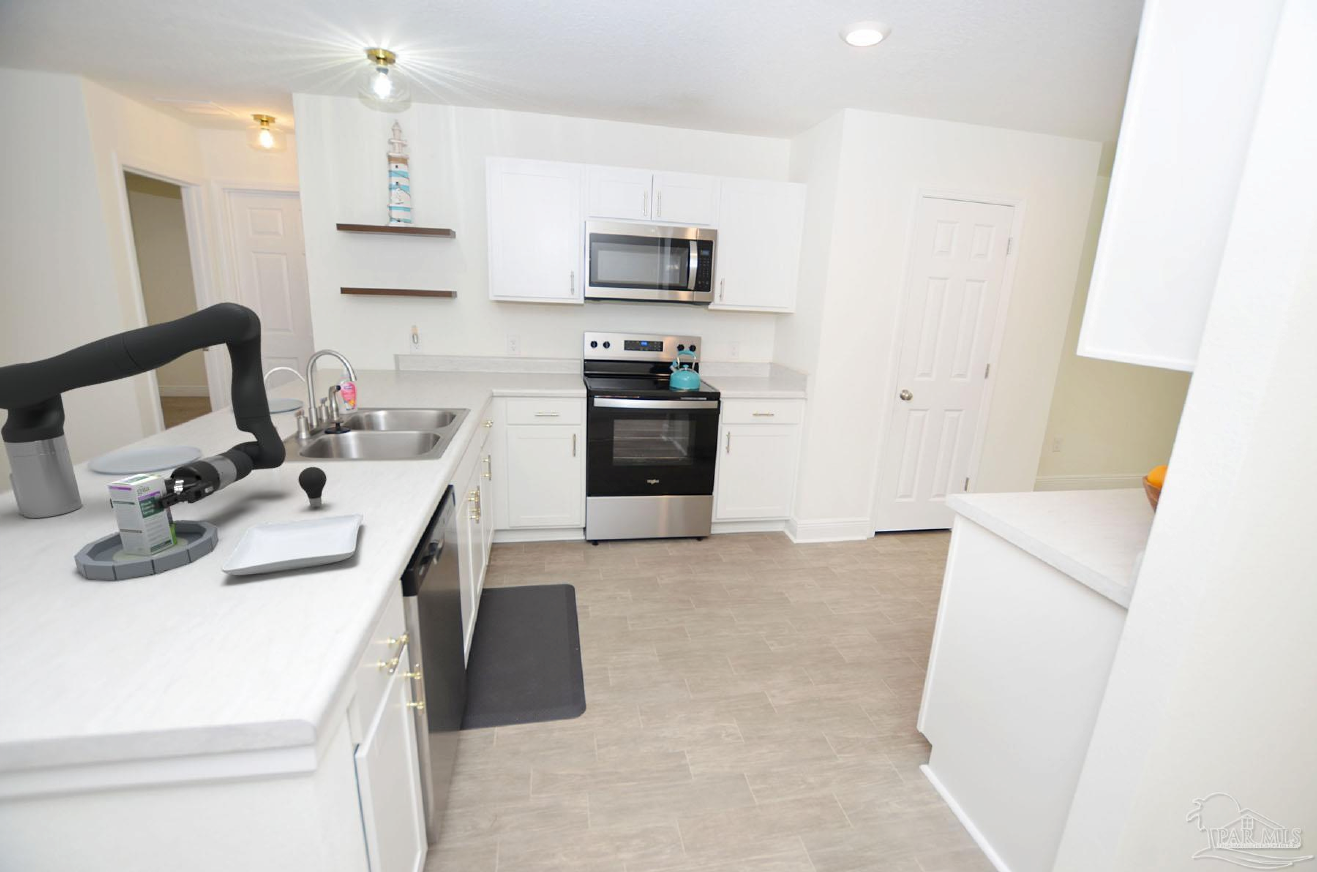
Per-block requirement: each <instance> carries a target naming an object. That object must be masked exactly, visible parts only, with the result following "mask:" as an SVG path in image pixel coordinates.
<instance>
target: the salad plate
mask: <svg viewBox="0 0 1317 872" xmlns="http://www.w3.org/2000/svg"><path fill="white" fill-rule="evenodd" d="M363 516H364V515H363V514H362V513H351V514H350V513H348V514H341V515H340V514H339V515H331V516H322V517H321V516H319V517H310V518H304V519H295V520H286V521H279V522H271V523H265V524H264V523H263V524H256V525H250V526H249V527H248V529H246V531H244V534H243V535H242V537H241V538H240V540H239V542H238V544H237V545H236V546H235V548H234V549H233V550H232V552H231V553H230V555H229V556H228V558H227V559H226V560H225V562H224V563H223V565H222V567H221V571H222V573H224V574H228V575H234V576H248V575H257V574H260V573H261V574H268V573H275V572H276V573H277V572H282V571H291V570H297V569H303V568H310V567H317V566H323V565H329V564H333V563H336V562H341V561H344V560H346V559H348V558H350V557H352V555H354V553H356V547H357V539H358V532H359V529H360V525H361V523H362V521H363Z"/></svg>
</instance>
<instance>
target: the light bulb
mask: <svg viewBox="0 0 1317 872" xmlns="http://www.w3.org/2000/svg"><path fill="white" fill-rule="evenodd" d="M297 481H298V483H299V486H300V487H301V489H302V490H303V491H304V492H305V493H306V496H307V498H308V501H309V506H310V507H313V508H314V509H318V508H319V507H320V506H321V505H322V504H323V503H322V502H323V499H322V496H323V491H324V488H325V485H326V483H327V475H326V473H325V471H324V470H322V469H321V468H319V467H317V466H310V467H306V468H305V469H303V470H301V472H300V473H299V475H298V479H297Z"/></svg>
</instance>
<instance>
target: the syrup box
mask: <svg viewBox="0 0 1317 872" xmlns="http://www.w3.org/2000/svg"><path fill="white" fill-rule="evenodd" d="M164 479H165V478H164V476H163V475H161V474H160V475H159V474H154V473H138V474H135V475H133V476H129V477H126V478H122V479H119V480H116V481H111V482H108V484H107V488H108V492H109V497H110V498H111V501H112V505H113V508H112V509H113V512H114V516H115V519H116V520H115V521H116V523H117V527H118V532H120V536H121V540H122V544H123V548H124V552H125V553H126V554H131V555H139V556H152V555H153V554H155V553H157V552H160V551H162V550H164V549H167V548H169V547H171V546H174V545H176V544H178V541H177V536H176V532H175V528H174V523H173V521H174V520H173V515H172V510H171V506H170V507H168V508H166V509H163V510H161V511H160V510H155V507H154V500H155V499H157V498H160V497H162V496H165V495H167V492H166V487H165V483H164Z"/></svg>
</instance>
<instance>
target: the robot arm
mask: <svg viewBox="0 0 1317 872" xmlns="http://www.w3.org/2000/svg"><path fill="white" fill-rule="evenodd" d="M261 323H262V322H261V319H260V318H259V316H258V315H257V313H256V312H255V311H253V309H251V308H250V307H248V306H245V305H241V304H240V303H239V304H238V303H235V302H219V303H216V304H213V305H210V306H208V307H205V308H203V309H201V310H198V311H196V312H194V313H193V312H192V313H190V314H189V315H185V316H183V317H181V318H178V319H174V320H169V321H166V322H165V321H164V322H160V323H157V324H152V325H146V326H143V327H140V328H135V329H131V330H126V331H124V332H120V333H116V334H113V335H110V336H106V337H103V338H100V339H98V340H94V341H91V342H88V343H85V344H83V345H80V346H78V347H75V348H72V349H70V350H68V351H65V352H62V353H60V354H58V355H55V356H51V357H48V358H44V359H40V360H35V361H32V362H31V361H30V362H21V363H15V364H11V365H10V364H9V365H5V366H0V409H1V410H7V419H6V421H5V423H4V424H3V425H2V427H1V428H0V429H1V431H0V432H1V433H0V434H1V439H2V441H3V444H4V448H5V452H6V455H7V459H8V462H9V466H10V469H11V472H10V473H9V480H10V483H11V486H12V490H13V495H14V498H15V502H16V506H17V509H18V512H19V515H23V516H24V517H25V518H28V519H29V518H30V519H32V518H33V519H39V518H40V519H41V518H48V517H55V516H59V515H60V516H61V515H64V514H67V513H71V512H74V511H76V510H78V509H80V508H82V507H83V504H82V503H83V501H82V498H81V495H80V490H79V486H78V483H77V479H76V474H75V471H74V465H73V461H72V457H71V454H70V450H69V445H68V442H67V438H66V434H65V430H64V425H65V419H66V415H65V408H64V404H63V403H64V402H63V398H62V394H63V393H66V392H69V391H72V390H75V389H79V388H84V387H90V386H94V385H100V384H104V383H105V384H106V383H110V382H114V381H118V380H122V379H127V378H131V377H135V376H137V375H141V374H143V373H147V372H150V371H154V370H156V369H159V368H161V367H163V366H165V365H167V364H170V363H172V362H174V361H175V360H177V359H179V358H180V357H183V356H185V355H186V354H188V353H191V352H193V351H197V350H201V349H204V348H208V347H209V348H210V347H213V346H218V345H224V344H225V345H226V347H227V351H228V354H229V357H230V363H231V382H230V383H231V384H230V385H231V386H230V392H231V393H230V394H231V404H232V406H231V407H232V410H233V416H234V422H235V425H236V428H237V429H238V430H239V431H240V432H244V433H249V434H252V435H253V436H254V438H255V440H252V441H244V442H241V443H238V444H236V445H234V446H232V447H231V448H229V449H228V450H227V451H224V452H221V453H217V454H215V455H212V456H207V457H203V458H201V459H198V460H195V461H193V462H189V463H187V464H185V465H181V466H179V467H176V468H175V469H174V470H173V471H172V472H171V473H170V476H169V477H168V478H167V477H166V478H164V483H165V487H166V492H167V495H165V496H162V497H160V498H157V499H155V500H154V507H155V510H160V511H161V510H163V509H166V508H168V507H170V508H171V507H172V506H175V505H183V504H184V503H185V502H187V504H194V503H195V504H196V503H197V502H199V501H201V500H203V499H205V498H208V497H210V496H212V495H214V493H216V492H218V491H221V490H223V489H225V488H226V487H228V486H229V485H231V484H234V483H236V482H238V481H241V480H244V478H247V476H249V475H251V473H252V471H259V470H270V469H277V468H279V467H281V466H282V465H283V464H284V462H285V460H286V455H287V452H286V447H285V445H284V442H283V440H282V438H281V436H280V434H279V433H278V431H277V429H276V426H275V425H274V423H273V420H272V418H271V417H272V416H271V411H270V406H269V405H270V404H269V402H268V396H267V392H266V386H265V385H266V384H265V379H264V373H263V364H262V363H263V362H262V324H261ZM109 503H110V507H111V508H112V509H114V508H113V505H112V501H111V497H110V499H109Z"/></svg>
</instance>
